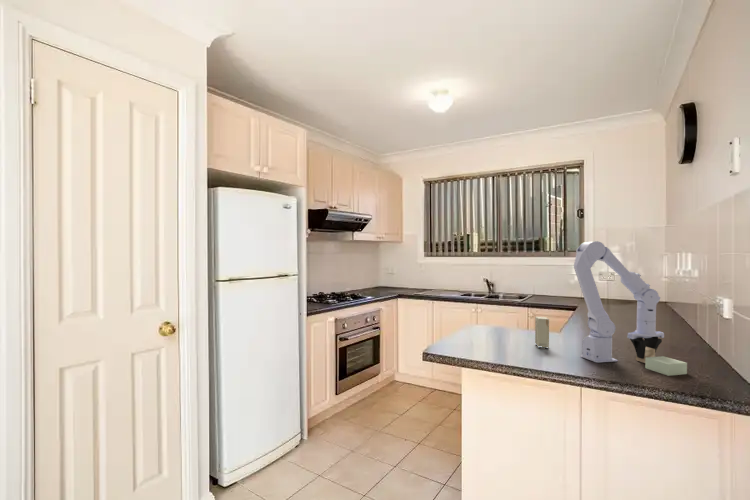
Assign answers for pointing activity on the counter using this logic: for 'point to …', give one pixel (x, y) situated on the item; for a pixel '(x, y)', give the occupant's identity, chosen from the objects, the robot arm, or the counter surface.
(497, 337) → the counter surface
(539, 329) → the skincare box
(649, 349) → the birch block
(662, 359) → the sage base block
